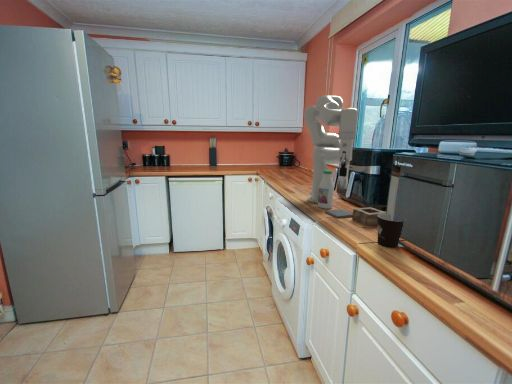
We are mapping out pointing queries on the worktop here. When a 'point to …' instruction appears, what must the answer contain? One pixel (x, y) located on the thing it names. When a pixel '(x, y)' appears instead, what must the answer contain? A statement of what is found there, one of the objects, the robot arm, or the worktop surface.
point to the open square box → (367, 215)
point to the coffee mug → (388, 231)
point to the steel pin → (343, 178)
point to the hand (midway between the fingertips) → (343, 175)
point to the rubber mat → (339, 213)
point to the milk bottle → (326, 191)
